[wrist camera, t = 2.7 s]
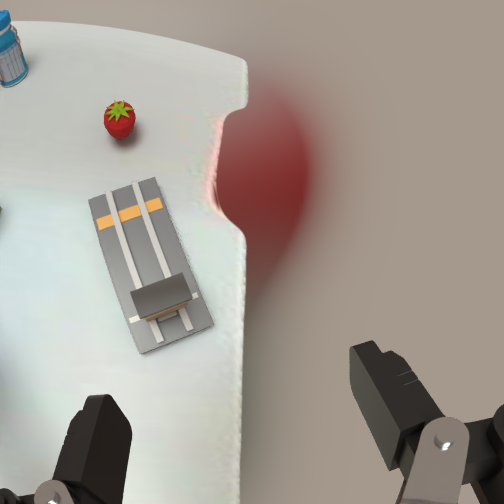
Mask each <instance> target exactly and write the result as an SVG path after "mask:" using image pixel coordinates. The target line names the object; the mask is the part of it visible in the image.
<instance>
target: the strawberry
mask: <svg viewBox="0 0 504 504" xmlns="http://www.w3.org/2000/svg"><path fill="white" fill-rule="evenodd" d="M134 110H135V109H133V108H132V106H131V105H130V104H128V103H126V102H124V101H123V102H121V101H120V102H116V101H114V103H113V104H111V105H110V106H109V107H107V109H106V111H105V114H104V125H105V128H106V129H107V131H108V132H109V134H110V135H111V136H113V137H115V138H118V139H122V138H125V137H126V136H127V135H129V134H130V133H131V131H132V129H133V126H134V123H135V113H134Z"/></svg>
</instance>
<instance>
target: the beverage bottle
mask: <svg viewBox="0 0 504 504" xmlns="http://www.w3.org/2000/svg"><path fill="white" fill-rule="evenodd" d="M10 23H11V19H10V15H9V12H8V11H7V10H3V11H0V83H1V85H2V86H4V87H10V86H13V85H15V84H17V83H19V82H20V81H21V80H22V79H23V78H24V77H25V76H26V74H27V72H28V67H27V64H26V62H25V59H24V56H23V52H22V49H21V45H20V38H19V37H18V36H17V30H16V28H15V27H14V26H12V25H11V24H10Z"/></svg>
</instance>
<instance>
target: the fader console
mask: <svg viewBox="0 0 504 504" xmlns="http://www.w3.org/2000/svg"><path fill="white" fill-rule="evenodd" d="M131 184H132V185H129V186H126V187H123V188H120V189H117V190H114V191H111V190H109V191H106V192H105V194H103V195H100V196H98V197H95V198H92V199H89V200H88V201H89V205H90V209H91V213H92V217H93V221H94V224H95V228H96V231H97V235H98V238H99V242H100V245H101V249H102V252H103V255H104V258H105V262H106V265H107V268H108V271H109V274H110V277H111V280H112V283H113V286H114V289H115V292H116V295H117V297H118V300H119V303H120V306H121V308H122V311H123V314H124V316H125V319H126V322H127V324H128V327H129V329H130V332H131V335H132V337H133V339H134V342H135V344H136V347H137V349H138V352H139V354H143V353H145V352H148V351H150V350H153V349H156V348H158V347H161V346H163V345H166V344H168V343H171V342H173V341H176V340H178V339H181V338H183V337H186V336H188V335H190V334H193V333H195V332H198V331H200V330H203V329H205V328H207V327H210V326H212V325H213V324H214V323H213V321H212V319H211V316H210V314H209V312H208V309H207V307H206V305H205V303H204V300H203V298H202V296H201V293H200V291H199V288H198V286H197V284H196V281H195V279H194V277H193V274H192V272H191V269H190V267H189V264H188V262H187V260H186V257H185V255H184V252H183V250H182V247H181V245H180V242H179V240H178V237H177V234H176V232H175V229H174V227H173V224H172V222H171V219H170V216H169V214H168V211H167V209H166V206H165V203H164V201H163V198H162V195H161V193H160V190H159V187H158V184H157V182H156V179H155V177H153V178H150V179H147V180H144V181H141V182H137V181H135V182H132V183H131ZM181 272H183V275H184V277H185V280H186V282H187V284H188V287H189V289H190V292H191V294H192V296H193V299H192V300H190V301H188V302H187V305H186V307H184V308H182V309H179V310H176V313H177V316H175V317H173V318H170V319H168V320H165V321H162V322H160V323H159V320H158V318H156V319H154V320H151V321H148V322H147V321H146V320H145V319H140V318H139V316H138V313H137V310H136V308H135V305H134V302H133V300H132V297H131V294H130V292H131V291H134V290H136V289H139V288H142V287H144V286H147V285H150V284H152V283H155V282H157V281H160V280H163V279H165V278H168V277H171V276H173V275H176V274H179V273H181Z"/></svg>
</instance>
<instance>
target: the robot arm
mask: <svg viewBox="0 0 504 504" xmlns="http://www.w3.org/2000/svg"><path fill="white" fill-rule="evenodd" d="M350 385H351V389H352V392H353V395H354V397H355V399H356V401H357V403H358V405H359V408H360V410H361V412H362V414H363V416H364V418H365V420H366V422H367V425H368V427H369V428H370V431H371V433H372V435H373V437H374V439H375V442H376V444H377V446H378V448H379V450H380V452H381V455H382V457H383V459H384V461H385V463H386V466H387V468H388V470H389V471H391V470H394V469H396V468H400V470H401V472H402V474H403V476H404V481H403V484H402V487H401V489H400V492H399V495H398V498H397V500H396V503H395V504H458V497H459V493H460V488H461V485H464V484H468V483H470V484H471V486H472V488H473V490H474V492H475V494H476V496H477V498H478V500H479V503H480V504H504V404H503V405H502V406H501V407H499V409H498V410H497V411H496V413H495V415H494V417H493V418H488V419H484V420H479V421H475V422H470V423H462V422H461V421H460V420H458V419H455V418H452V417H446V416H445V415H443V414H442V412H441V411H440V409H439V408H438V406H437V405H436V403H435V402H434V400H433V399H432V398H431V396H430V395H429V393H428V392H427V390H426V389H425V388H424V386H423V385H422V383H421V382H420V381H419V380H418V378H417V376H416V375H415V373H414V372H412V369H411V368H410V366H409V365H408V363H407V362H406V361H405V359H404V358H403V357H401V356H399V355H397V354H396V353H394V352H393V351H388V352H385V353H382V352H381V351H380V349H379V348H378V346H377V345H376V344H375V342H374V341H368V342H365V343H362V344H358V345H355V346H352V347H350ZM131 441H132V429H131V425H130V423H129V421H128V420H127V418H126V417H125V415H124V414H123V412H122V411H121V409H120V408H119V407H118V405H117V404H116V402H115V401H114V399H113V398H112V396H111V395H109V394H105V395H91V396H88V397H87V399H86V401H85V404H84V407H83V410H80V411H78V413H77V414H76V415H75V417H74V418H73V419H72V420H71V422H70V425H69V428H68V431H67V435H66V437H65V440H64V445H63V446H62V449H61V452H60V455H59V459H58V462H57V465H56V468H55V472H54V475H53V478H52V480H49V481H46V482H44V483H42V484H41V485H40V486H39V487H38V489H37V490H36V492H35V494H31V495H25V496H17V495H15V494H14V493H13V492H12V491H10V490H9V489H6V488H2V489H0V504H122V500H123V492H124V485H125V478H126V472H127V465H128V459H129V453H130V447H131Z"/></svg>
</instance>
